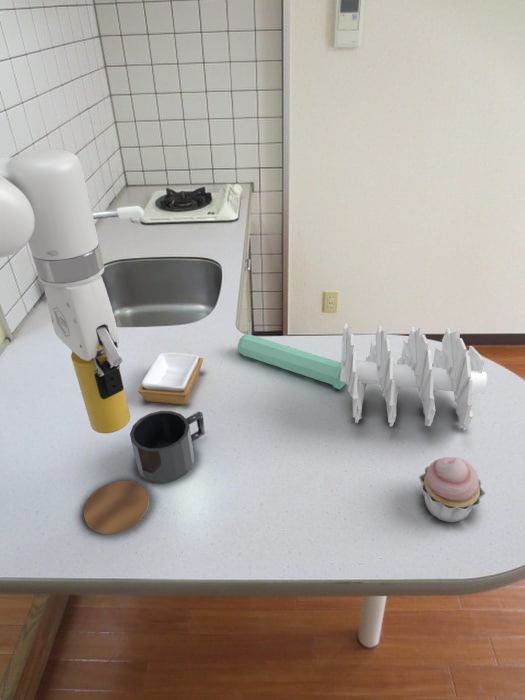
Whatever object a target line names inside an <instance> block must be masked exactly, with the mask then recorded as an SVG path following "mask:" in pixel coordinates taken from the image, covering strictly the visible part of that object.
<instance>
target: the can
mask: <svg viewBox="0 0 525 700" xmlns="http://www.w3.org/2000/svg"><path fill="white" fill-rule="evenodd" d="M101 348H102V347H101V345H99V346H98V350H99V349H101ZM70 358H71V361H72V366H73V368H74V372H75V375H76V379H77V382H78V385H79V389H80V393H81V396H82V399H83V403H84V407H85V410H86V414H87V417H88V421H89V424H90V427H91V429H92V430H93V431H95V432H96V433H98V434H112V433H117V432H119V431H121V430H123V429H124V428H125V427H126V426H128V425H129V423H130V420H131V412H130V409H129V403H128V399H127V395H126V391H125V386H124V385H123V387H124V388H123V390H122V391H121V392H119V393H116V394H114V395H112V396H110V397H108V398H106V399H102V398H101V397H100V394H99V391H98V387H97V383H96V379H95V375H94V374H96V373H97V372H96V369H95V367H94V364H93V362H92V359H91V360H90V361H86V360H83V359H81V358H80V357H79V356H78V355H77V354H75V353H74V352H72V351H71V355H70ZM98 358H99V361H100V364H101V365H102V363H103V362H104V361H106V359H107V357H106V355H105V354H104V355H102V356H99V357H98ZM119 370H120V371H121V369H120V368H119ZM120 374H121V375H122V373H121V372H120ZM121 379H122V380H123V378H122V376H121ZM122 383H123V384H124V382H123V381H122Z"/></svg>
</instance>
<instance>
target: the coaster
mask: <svg viewBox="0 0 525 700" xmlns="http://www.w3.org/2000/svg"><path fill="white" fill-rule="evenodd" d="M149 507H150V497H149V494H148V491H147V490H146V488H145V487H144V486H142V485H141V484H139V483H137V482H135V481H131V480H119V481H118V480H117V481H113V482H111V483H110V482H109V483H108V484H105V485H103V486H102V487H100V488H99V489H97V490H96V491H95V492H93V493H92V495H90V496H89V498H88V499H87V501H86V503H85V504H84V508H83V517H84V522H85V523H86V525H87V527H88V528H89V529H90V530H92V531H93V532H96V533H97V534H102V535H116V534H121V533H123V532H126V531H129V530H130V529H132V528H134V527H135V526H136V525H138V524H139V523H140V522H141V521H142V520H143V519H144V517H145V516H146V514H147V512H148V510H149Z"/></svg>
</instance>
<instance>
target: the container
mask: <svg viewBox="0 0 525 700" xmlns="http://www.w3.org/2000/svg"><path fill="white" fill-rule="evenodd" d="M237 351H238V352H239V354H241V355H242V356H244V357H246V358H250V359H253V360H256V361H260V362H262V363H265V364H268V365H271V366H273V367H277V368H280V369H283V370H286V371H290V372H292V373H294V374H297V375H301V376H304V377H307V378H310V379H313V380H316V381H320V382H322V383H325V384H327V385H328V384H329V385H331V386H332V387H333V388H335V389H337V390H338V391H339V390H342V389H343V387H344V386H345V385H346V382H341V381H340V375H341V361H337V360H334V359H331V358H328V357H324V356H322V355H318V354H314V353H311V352H307V351H305V350H301V349H298V348H295V347H291V346H288V345H285V344H282V343H279V342H275V341H272V340H268V339H266V338H263V337H259V336H255V335H252V334H248V333H247V334H243V335H242V336H241V337H240V338H239V340H238V343H237Z"/></svg>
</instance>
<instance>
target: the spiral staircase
mask: <svg viewBox="0 0 525 700" xmlns="http://www.w3.org/2000/svg"><path fill="white" fill-rule="evenodd" d="M382 327H383V326H382V325H380V324H379V325H378V327H377V330H376V333H375V340H373V339H372V340H370V347H369V354H368V356H367V357H365V360H357V350H354V348H355V338H354V333H352V330H353V329H352V327H351V326H349V327H348V323H347V322H346V323H344V326H343V331H342V343H341V358H340V359H341V360H340V362H341V375H340V381H341V382H346V383H345V385H347V393H349V396H350V397H351V399H352V418H354V422H355V424H358V423H359V421H360V420H361V419H362V413H363V404H364V399H365V395H366V390H367V385H377V386H380V389H381V390H382V394H381V395H382V397H383V399H384V400H385V402H386V412H387V414H386V415H387V421H388V423H389V427H393V426H394V423H395V422H396V418H397V401H398V394H399V391H400V389H401V388H410V389H417V390H418V396H419V399H420V401H421V404H422V407H423V411H422V413H423V415H424V426H427V427H431V426H432V423H433V422H434V417H435V415H436V410H437V409H436V404H435V397H434V394H435V391H445V392H453V395H454V397H453V398H454V399H453V400H454V401H453V402H455V403H456V405H457V406H456V410H455V413H456V415H457V417H458V428H462V431H468V427H469V425H470V423H471V421H472V419H473V417H474V416H473V410H472V407H473V403H472V394H477V395H478V394H479V395H484V394H485V393H486V391H487V387H488V375H487V372H486V371H485V370H483V369H484V364H485V358H484V357H483V356H482V355H481V354H480V353H479V352H478V350H477V349H476V348H475V347H474V346H473V345H469V347H468V349H467V346H466V344H465V342H464V340H463V338H462V337H461V336H460V335H461V331H454V332H452V331H451V327H447V328H446V330H445V332H444V335H443V337H442V339H441V348H442V349H441V348H440V347H439V346H435V347H434V354H433V358H432V350H431V349H429V342H428V339H427V336H426V334H424V333H423V329H424V328H423V327H419V328H418V329H416V326H411V328H410V332H409V334H408V338H407V339H404V340H403V344H402V350H401V357H400V358H398V359H397V362H396V363H394V356H391V353H392V352H391V351H392V349H391V343H390V342H391V341H390V337H388V331H387V330H382V329H383V328H382ZM467 351H468V353H467ZM432 360H433V361H432Z"/></svg>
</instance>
